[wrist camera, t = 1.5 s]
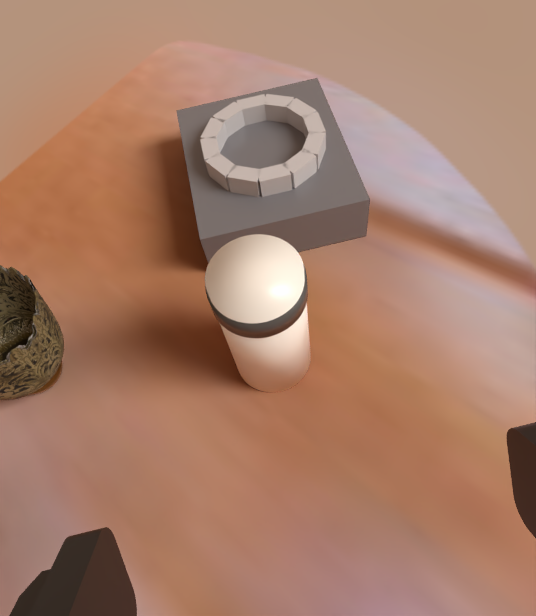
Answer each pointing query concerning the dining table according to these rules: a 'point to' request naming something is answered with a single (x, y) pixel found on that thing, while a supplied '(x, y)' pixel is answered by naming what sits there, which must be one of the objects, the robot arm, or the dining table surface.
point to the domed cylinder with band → (262, 309)
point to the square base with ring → (272, 169)
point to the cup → (26, 338)
